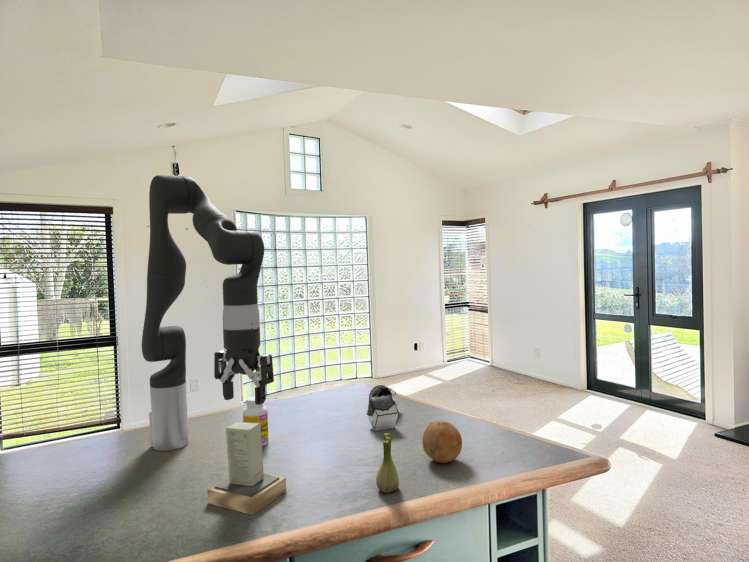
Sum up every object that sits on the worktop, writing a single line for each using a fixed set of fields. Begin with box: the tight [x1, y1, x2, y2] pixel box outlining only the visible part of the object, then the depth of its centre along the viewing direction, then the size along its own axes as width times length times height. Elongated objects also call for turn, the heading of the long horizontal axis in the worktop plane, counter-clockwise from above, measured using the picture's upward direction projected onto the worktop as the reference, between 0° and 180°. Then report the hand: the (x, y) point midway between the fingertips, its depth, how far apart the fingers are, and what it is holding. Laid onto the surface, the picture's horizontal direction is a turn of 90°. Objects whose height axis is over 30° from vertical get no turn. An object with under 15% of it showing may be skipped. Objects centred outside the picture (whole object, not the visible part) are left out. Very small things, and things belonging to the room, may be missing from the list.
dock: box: [206, 472, 287, 516], centre depth 105 cm, size 12×11×3 cm
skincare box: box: [225, 421, 265, 486], centre depth 105 cm, size 6×4×12 cm
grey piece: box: [366, 384, 400, 432], centre depth 152 cm, size 25×10×10 cm, turn 178°
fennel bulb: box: [375, 432, 400, 494], centre depth 106 cm, size 6×5×12 cm
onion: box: [421, 420, 463, 464], centre depth 121 cm, size 10×10×10 cm
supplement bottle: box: [242, 395, 269, 447], centre depth 136 cm, size 7×7×13 cm
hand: (244, 401), depth 104 cm, fingers open, 8 cm apart
